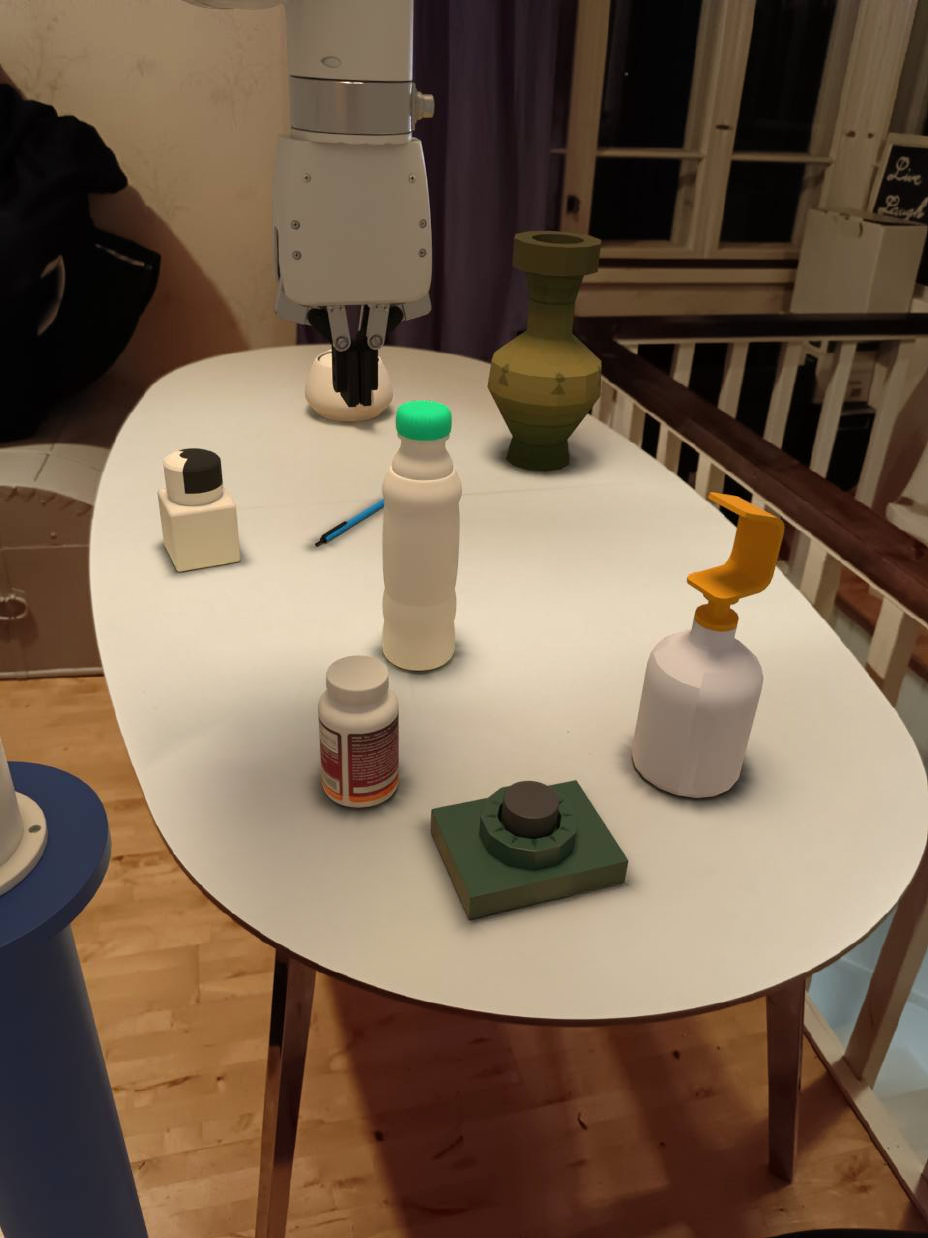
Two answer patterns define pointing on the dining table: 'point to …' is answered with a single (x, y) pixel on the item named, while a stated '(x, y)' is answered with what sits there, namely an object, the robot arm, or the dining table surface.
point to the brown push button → (530, 809)
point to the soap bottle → (708, 671)
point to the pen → (349, 523)
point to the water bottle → (420, 540)
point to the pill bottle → (359, 732)
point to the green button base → (525, 853)
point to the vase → (547, 353)
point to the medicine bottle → (197, 511)
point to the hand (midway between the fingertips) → (355, 400)
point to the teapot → (331, 402)
